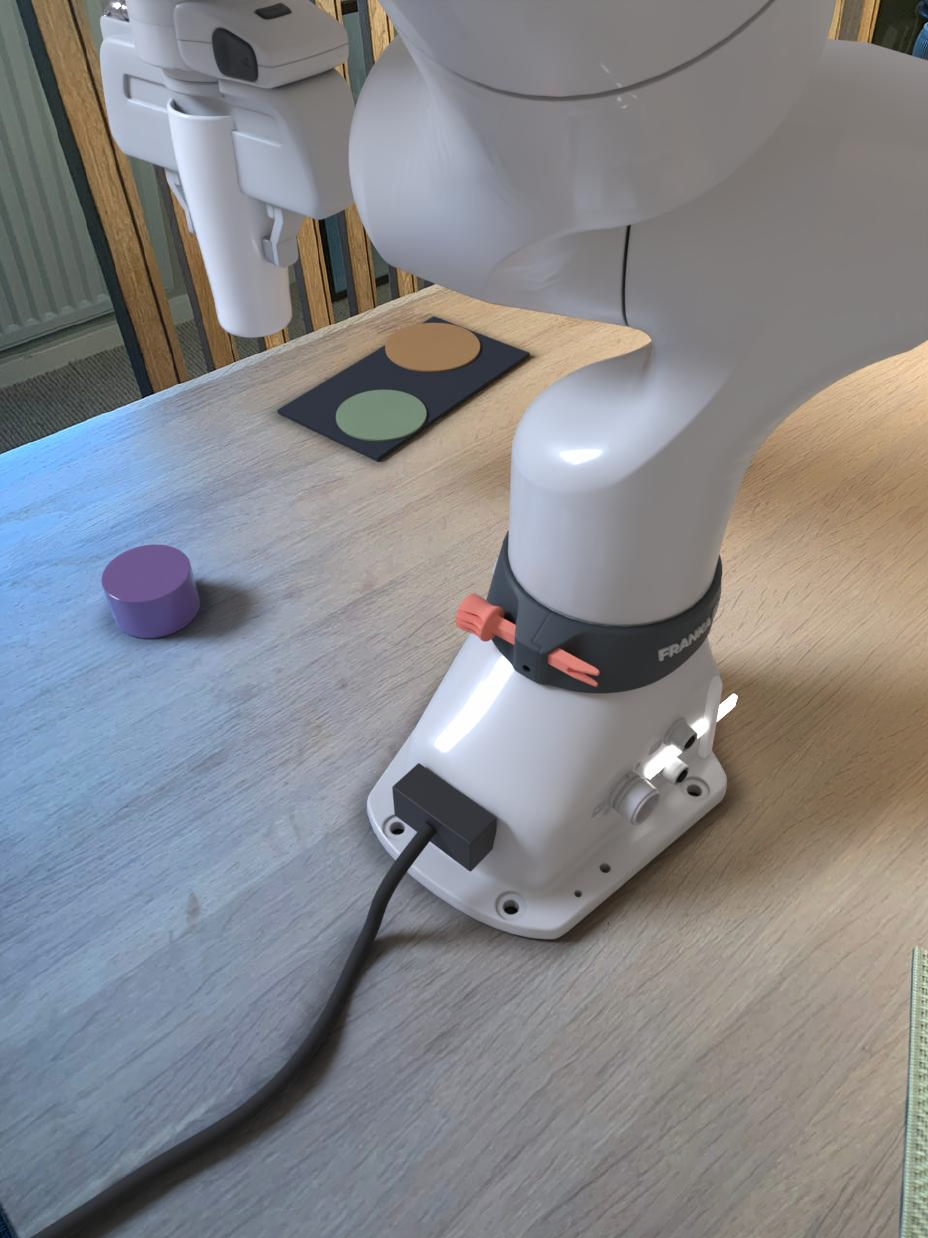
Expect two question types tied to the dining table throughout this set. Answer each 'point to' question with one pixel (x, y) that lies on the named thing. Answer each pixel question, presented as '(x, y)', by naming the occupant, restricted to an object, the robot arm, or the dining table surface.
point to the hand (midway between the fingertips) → (243, 248)
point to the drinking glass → (229, 228)
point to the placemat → (403, 386)
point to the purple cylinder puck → (151, 591)
